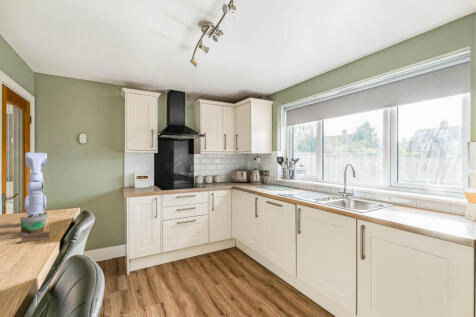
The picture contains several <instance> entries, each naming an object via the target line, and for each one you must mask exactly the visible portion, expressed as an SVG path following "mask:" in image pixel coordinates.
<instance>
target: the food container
mask: <svg viewBox="0 0 476 317" xmlns="http://www.w3.org/2000/svg"><path fill="white" fill-rule="evenodd" d="M48 218H49V215H48V212H47V211H44V212H43V214H39V215H38V217H33V215H32V216H30V217H24V216H23V217H22V216H21V217H20V219H19V222H20V236H22V235H27V234H33V233H39V232H44V228H45V224H46V220H47V219H48Z"/></svg>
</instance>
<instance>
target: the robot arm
mask: <svg viewBox="0 0 476 317" xmlns="http://www.w3.org/2000/svg"><path fill="white" fill-rule="evenodd" d="M24 155H25V157H24V158H25V159H24V160H25V166H26V167H27V168H29V169H30V171H31V172H30V173H29V177H28V179H29V181H28V183H27V191H28V192H27V193H28V195H27V196H25V199H24V210H25V214H26V215H27V217H30V216H32V215H33V217H38V215H39V214H43V213H44V212H45V211H44V210H45V209H46V208H47V196H46V195H44V191H45V182H44V174H43V172H42V169H43V168H45V167H46V165H47V162H48V154H47V152H28V151H27V152H26V153H25V154H24Z"/></svg>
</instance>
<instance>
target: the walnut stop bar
mask: <svg viewBox="0 0 476 317" xmlns="http://www.w3.org/2000/svg"><path fill="white" fill-rule="evenodd" d="M20 236H21V235H20ZM20 238H21V239H20V240H21V241H20V242H21V244H25V243H31V242H36V241H41V240H42V241H43V240H47V239H49V238H50V231H49V230H45V231H43V232H39V233H33V234H27V235H22V236H21V237H20Z"/></svg>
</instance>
